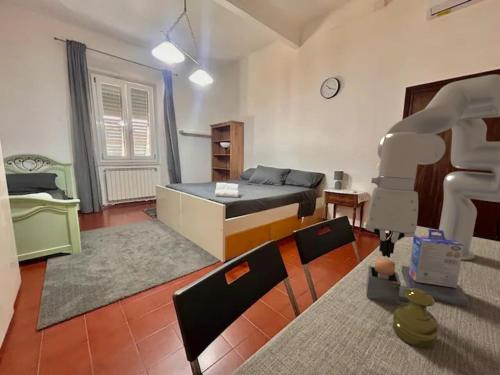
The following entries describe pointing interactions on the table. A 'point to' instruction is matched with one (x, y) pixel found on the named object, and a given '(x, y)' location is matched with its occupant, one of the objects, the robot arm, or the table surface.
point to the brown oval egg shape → (384, 267)
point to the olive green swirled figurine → (416, 320)
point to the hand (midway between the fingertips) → (385, 254)
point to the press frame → (394, 291)
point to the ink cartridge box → (436, 259)
